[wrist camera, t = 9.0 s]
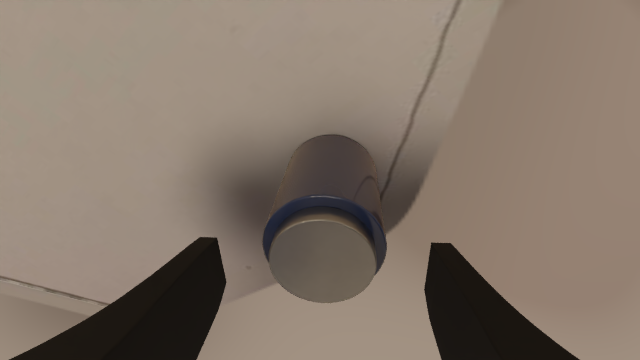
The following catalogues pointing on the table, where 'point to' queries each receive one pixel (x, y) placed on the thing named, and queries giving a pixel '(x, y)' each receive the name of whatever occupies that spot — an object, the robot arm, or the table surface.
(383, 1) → the table surface
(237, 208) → the table surface
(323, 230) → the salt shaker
